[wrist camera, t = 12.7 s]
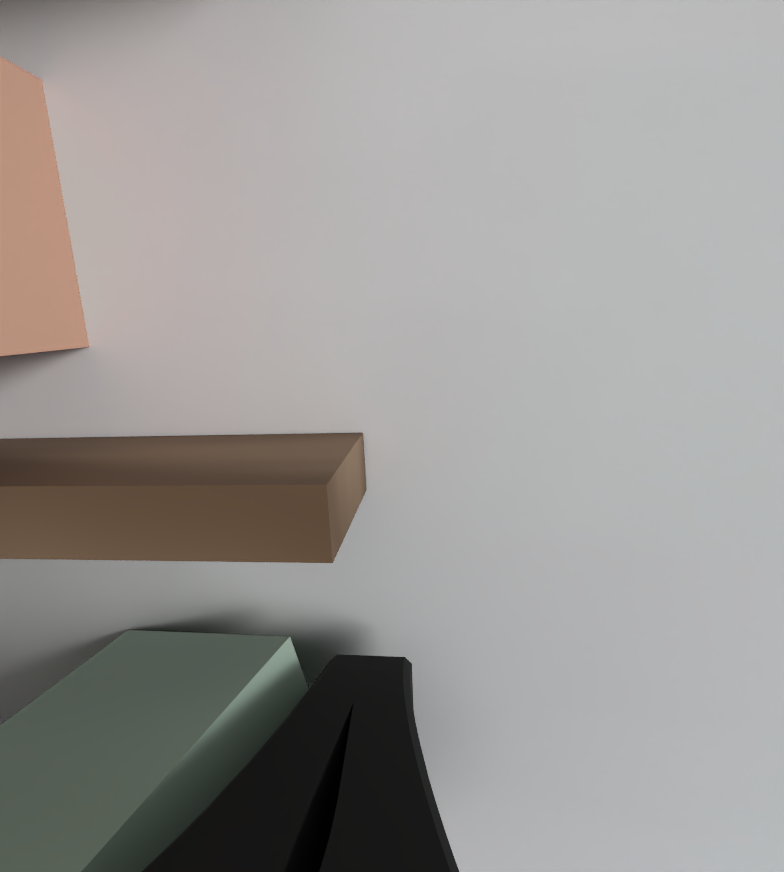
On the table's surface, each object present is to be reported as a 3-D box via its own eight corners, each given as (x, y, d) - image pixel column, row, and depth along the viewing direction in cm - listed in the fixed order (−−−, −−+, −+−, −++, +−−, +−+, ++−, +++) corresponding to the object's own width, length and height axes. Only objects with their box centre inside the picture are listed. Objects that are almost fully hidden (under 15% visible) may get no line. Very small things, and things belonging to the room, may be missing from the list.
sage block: (360, 832, 9) (110, 1372, 5) (198, 793, 11) (-90, 1154, 6) (290, 636, 8) (-95, 1069, 4) (127, 630, 10) (-258, 918, 6)
